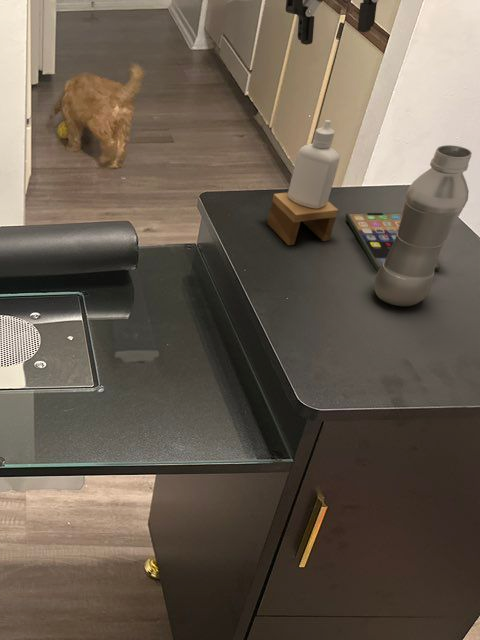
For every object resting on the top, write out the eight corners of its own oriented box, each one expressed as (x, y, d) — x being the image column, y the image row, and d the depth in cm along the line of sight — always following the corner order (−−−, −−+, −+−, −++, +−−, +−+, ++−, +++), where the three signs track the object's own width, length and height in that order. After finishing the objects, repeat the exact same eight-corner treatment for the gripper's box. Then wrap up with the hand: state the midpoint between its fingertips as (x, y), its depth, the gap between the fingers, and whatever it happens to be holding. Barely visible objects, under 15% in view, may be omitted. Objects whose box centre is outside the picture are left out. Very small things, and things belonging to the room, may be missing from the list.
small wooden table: (306, 218, 113) (314, 188, 110) (329, 240, 108) (338, 209, 104) (266, 223, 113) (273, 193, 109) (288, 245, 107) (296, 214, 104)
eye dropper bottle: (300, 211, 105) (322, 130, 97) (283, 194, 109) (303, 115, 101) (330, 208, 105) (353, 126, 97) (311, 191, 109) (333, 112, 101)
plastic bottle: (359, 299, 96) (411, 152, 83) (384, 279, 99) (437, 135, 86) (409, 318, 92) (472, 168, 79) (433, 297, 95) (496, 150, 82)
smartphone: (376, 271, 101) (379, 263, 100) (344, 219, 112) (346, 212, 111) (438, 271, 100) (441, 263, 99) (399, 219, 111) (401, 212, 110)
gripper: (308, -82, 93) (299, 52, 102) (417, -106, 93) (398, 30, 102) (281, -82, 100) (275, 44, 109) (383, -105, 99) (368, 23, 108)
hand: (335, 37), depth 105 cm, fingers open, 8 cm apart
